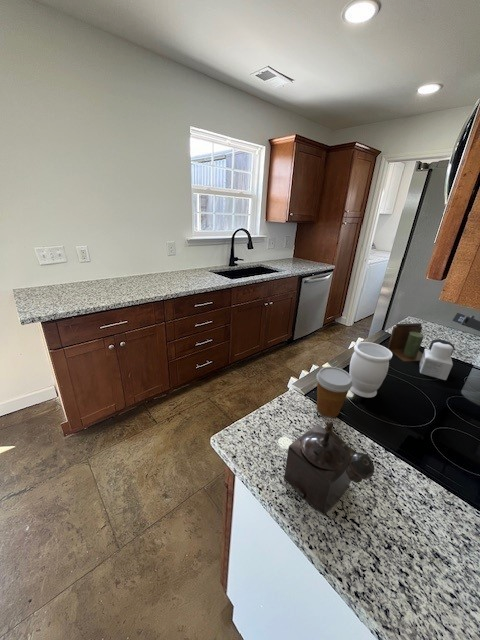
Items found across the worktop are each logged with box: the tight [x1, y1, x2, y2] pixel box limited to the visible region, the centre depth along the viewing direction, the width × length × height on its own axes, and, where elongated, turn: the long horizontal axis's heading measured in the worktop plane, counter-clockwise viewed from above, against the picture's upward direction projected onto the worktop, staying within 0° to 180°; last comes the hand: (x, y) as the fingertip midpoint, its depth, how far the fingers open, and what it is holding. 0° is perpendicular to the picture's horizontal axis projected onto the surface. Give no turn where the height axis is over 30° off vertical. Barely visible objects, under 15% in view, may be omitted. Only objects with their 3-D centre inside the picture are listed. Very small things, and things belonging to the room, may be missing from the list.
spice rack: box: [386, 322, 423, 362], centre depth 104 cm, size 12×10×12 cm
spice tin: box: [403, 332, 425, 358], centre depth 103 cm, size 5×5×9 cm
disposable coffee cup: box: [316, 366, 353, 418], centre depth 75 cm, size 10×10×12 cm
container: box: [419, 339, 456, 381], centre depth 93 cm, size 8×8×13 cm
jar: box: [349, 341, 393, 399], centre depth 83 cm, size 11×10×15 cm
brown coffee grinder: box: [283, 420, 375, 515], centre depth 51 cm, size 16×11×18 cm
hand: (476, 324), depth 81 cm, fingers open, 13 cm apart
